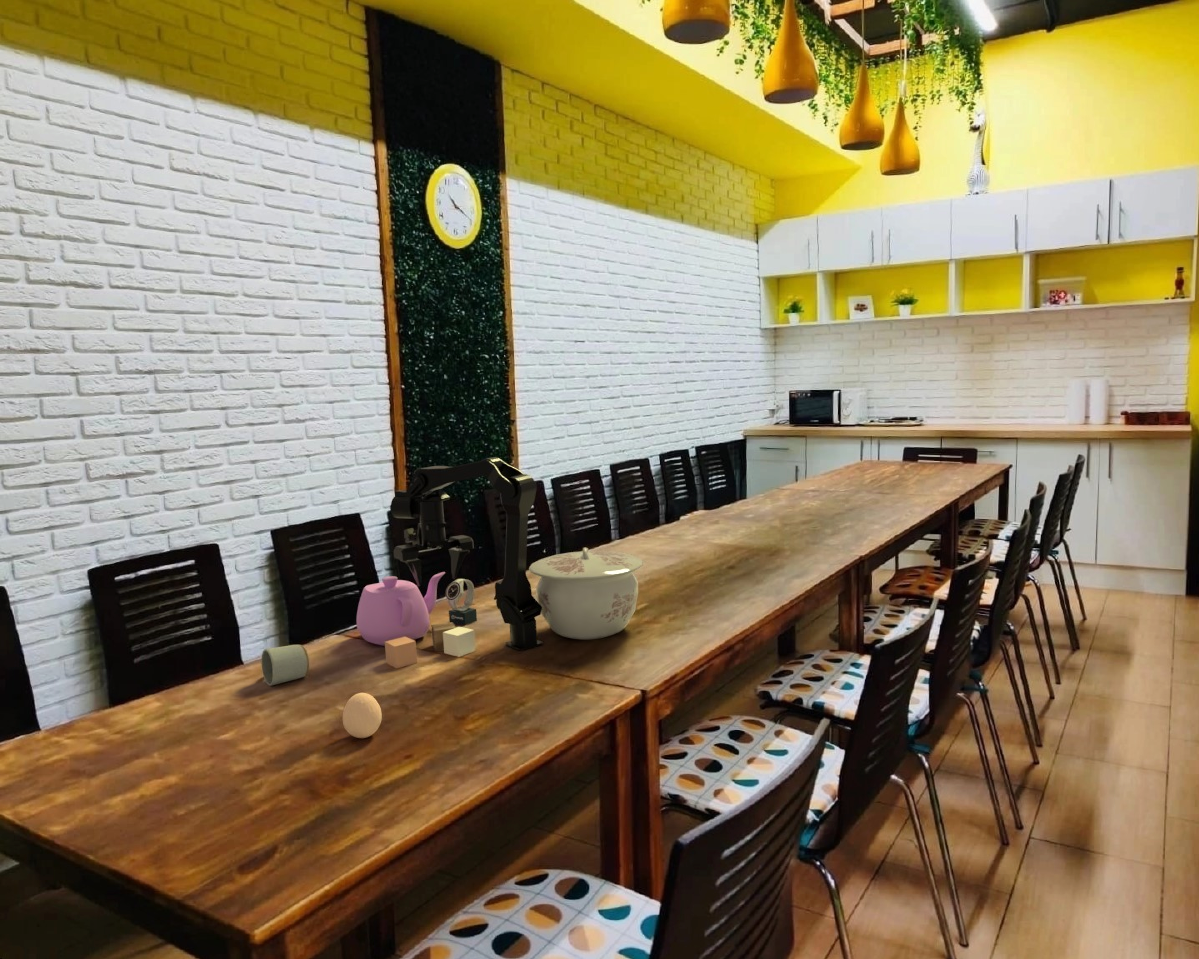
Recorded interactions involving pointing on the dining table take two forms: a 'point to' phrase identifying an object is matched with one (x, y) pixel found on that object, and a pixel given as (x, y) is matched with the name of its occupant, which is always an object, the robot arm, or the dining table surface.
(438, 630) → the walnut cube
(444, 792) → the dining table surface
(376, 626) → the teapot
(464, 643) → the cream cube
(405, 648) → the terracotta cube
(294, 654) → the ceramic mug
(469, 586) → the watch
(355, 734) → the egg
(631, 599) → the chamber pot
